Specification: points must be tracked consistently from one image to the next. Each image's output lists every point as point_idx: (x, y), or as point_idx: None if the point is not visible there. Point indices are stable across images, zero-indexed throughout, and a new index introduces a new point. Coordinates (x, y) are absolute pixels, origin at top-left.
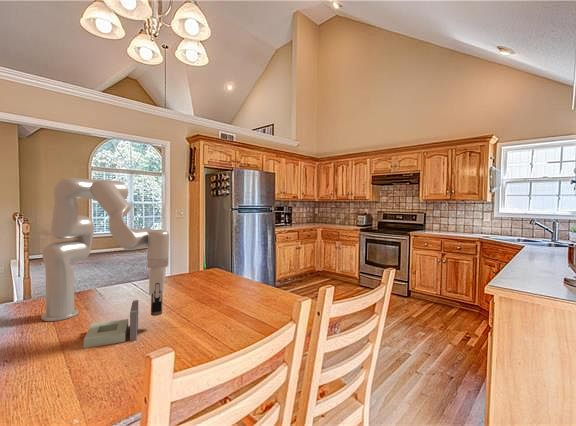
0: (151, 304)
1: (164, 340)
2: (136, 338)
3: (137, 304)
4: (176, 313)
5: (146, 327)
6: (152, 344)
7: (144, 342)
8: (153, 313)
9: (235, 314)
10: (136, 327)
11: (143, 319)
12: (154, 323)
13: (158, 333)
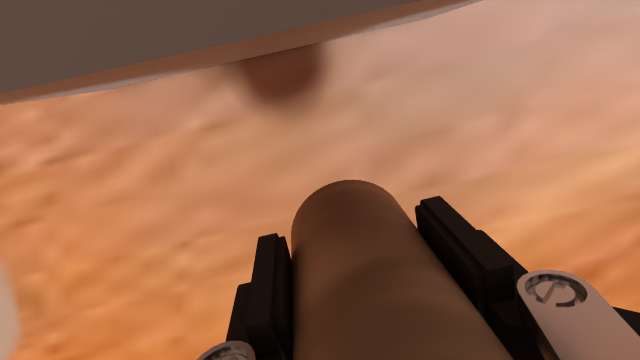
0: (329, 252)
1: (111, 283)
2: (116, 87)
3: (319, 17)
4: (594, 262)
5: (365, 101)
6: (45, 222)
7: (78, 159)
8: (295, 228)
9: None
10: (55, 96)
11: (554, 28)
12: (435, 145)
13: (233, 219)
